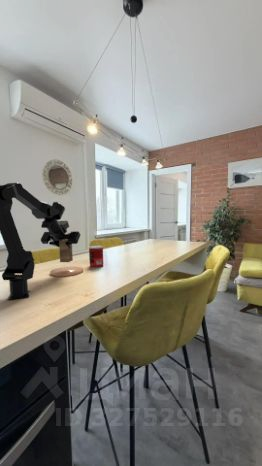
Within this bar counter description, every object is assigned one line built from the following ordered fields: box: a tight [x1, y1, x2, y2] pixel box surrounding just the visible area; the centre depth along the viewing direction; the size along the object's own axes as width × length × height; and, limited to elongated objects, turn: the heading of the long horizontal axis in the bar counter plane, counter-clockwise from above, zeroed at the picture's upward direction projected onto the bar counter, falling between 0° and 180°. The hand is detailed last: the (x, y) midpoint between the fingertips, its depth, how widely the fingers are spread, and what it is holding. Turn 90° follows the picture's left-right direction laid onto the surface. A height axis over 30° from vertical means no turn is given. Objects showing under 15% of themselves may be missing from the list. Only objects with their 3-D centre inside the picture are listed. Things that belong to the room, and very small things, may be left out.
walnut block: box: [58, 240, 73, 263], centre depth 111 cm, size 4×4×13 cm
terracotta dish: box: [49, 266, 84, 278], centre depth 112 cm, size 16×16×1 cm
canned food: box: [88, 245, 104, 268], centre depth 125 cm, size 8×8×11 cm
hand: (67, 248), depth 112 cm, fingers closed on walnut block, 4 cm apart
